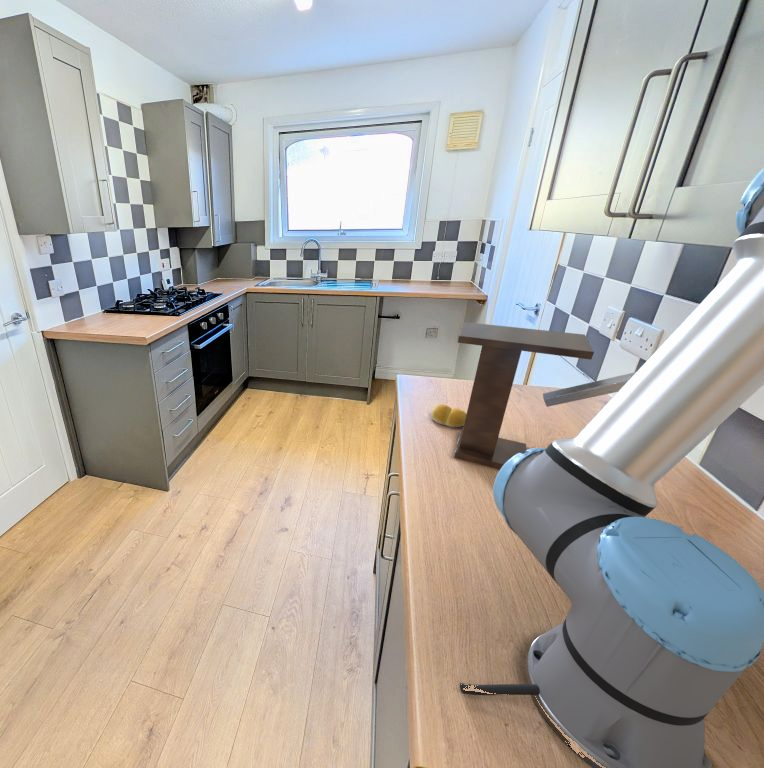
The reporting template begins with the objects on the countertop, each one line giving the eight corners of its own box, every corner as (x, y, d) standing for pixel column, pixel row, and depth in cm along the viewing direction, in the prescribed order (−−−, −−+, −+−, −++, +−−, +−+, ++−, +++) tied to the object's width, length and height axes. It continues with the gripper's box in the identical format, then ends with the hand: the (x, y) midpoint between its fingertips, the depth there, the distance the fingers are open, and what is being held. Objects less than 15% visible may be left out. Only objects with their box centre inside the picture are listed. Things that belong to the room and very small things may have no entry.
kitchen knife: (799, 344, 55) (795, 332, 54) (811, 350, 53) (807, 337, 52) (545, 400, 73) (541, 391, 73) (546, 407, 71) (542, 397, 71)
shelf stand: (544, 453, 91) (584, 334, 79) (548, 482, 82) (594, 351, 70) (442, 430, 102) (464, 322, 90) (435, 452, 92) (458, 335, 81)
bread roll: (462, 431, 101) (465, 418, 99) (427, 421, 106) (429, 408, 104) (470, 419, 106) (473, 406, 105) (436, 410, 112) (438, 397, 110)
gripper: (1001, 430, 43) (703, 389, 55) (895, 380, 55) (669, 355, 67) (1056, 368, 40) (728, 338, 52) (931, 330, 52) (688, 312, 64)
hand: (696, 348), depth 59 cm, fingers closed on kitchen knife, 3 cm apart
